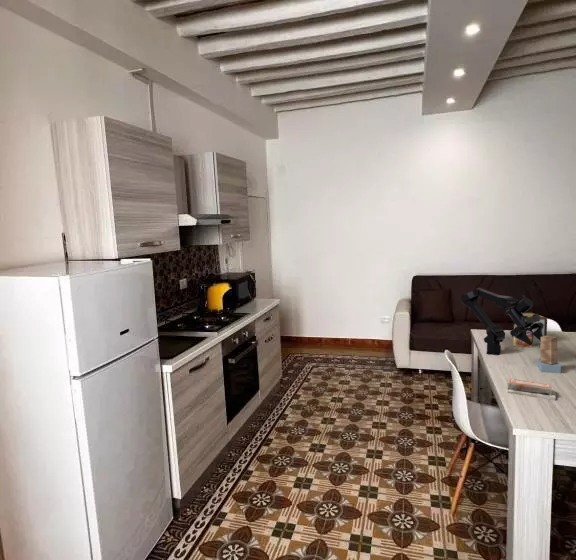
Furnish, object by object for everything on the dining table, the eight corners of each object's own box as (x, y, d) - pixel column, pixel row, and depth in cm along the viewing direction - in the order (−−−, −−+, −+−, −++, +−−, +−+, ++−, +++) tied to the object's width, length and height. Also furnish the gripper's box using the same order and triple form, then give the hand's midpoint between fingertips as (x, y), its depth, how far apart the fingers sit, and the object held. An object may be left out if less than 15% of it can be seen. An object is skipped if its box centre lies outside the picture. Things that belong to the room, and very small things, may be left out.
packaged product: (506, 383, 180) (508, 375, 188) (506, 393, 180) (507, 385, 189) (556, 390, 170) (555, 382, 178) (555, 401, 171) (555, 392, 179)
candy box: (514, 346, 243) (515, 321, 240) (512, 344, 247) (513, 319, 245) (531, 347, 240) (532, 321, 238) (530, 345, 244) (530, 319, 242)
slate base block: (541, 372, 202) (541, 364, 202) (537, 367, 210) (537, 359, 209) (560, 374, 199) (560, 365, 199) (555, 368, 207) (556, 360, 206)
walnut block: (540, 362, 205) (540, 337, 204) (546, 360, 207) (546, 335, 206) (551, 364, 200) (551, 338, 200) (557, 362, 203) (557, 337, 202)
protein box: (530, 336, 261) (531, 312, 259) (546, 343, 246) (547, 317, 244) (514, 337, 261) (515, 313, 259) (529, 344, 246) (530, 318, 243)
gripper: (516, 311, 207) (536, 338, 199) (541, 306, 215) (561, 332, 206) (501, 323, 215) (520, 349, 207) (526, 318, 223) (545, 343, 214)
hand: (537, 343), depth 208 cm, fingers open, 9 cm apart
